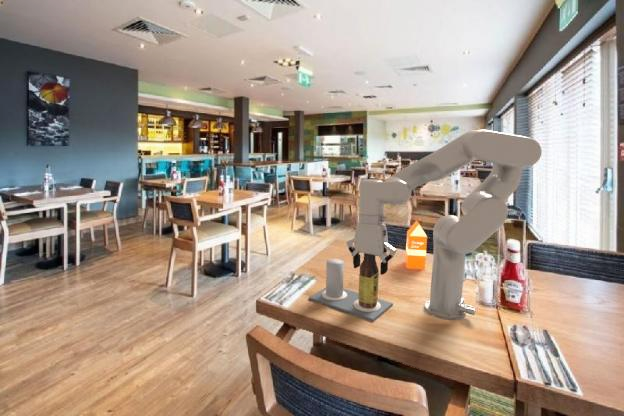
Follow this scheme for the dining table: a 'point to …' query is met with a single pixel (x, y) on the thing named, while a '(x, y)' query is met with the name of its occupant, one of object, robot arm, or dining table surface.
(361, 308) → the board
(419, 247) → the orange juice
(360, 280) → the sauce bottle
